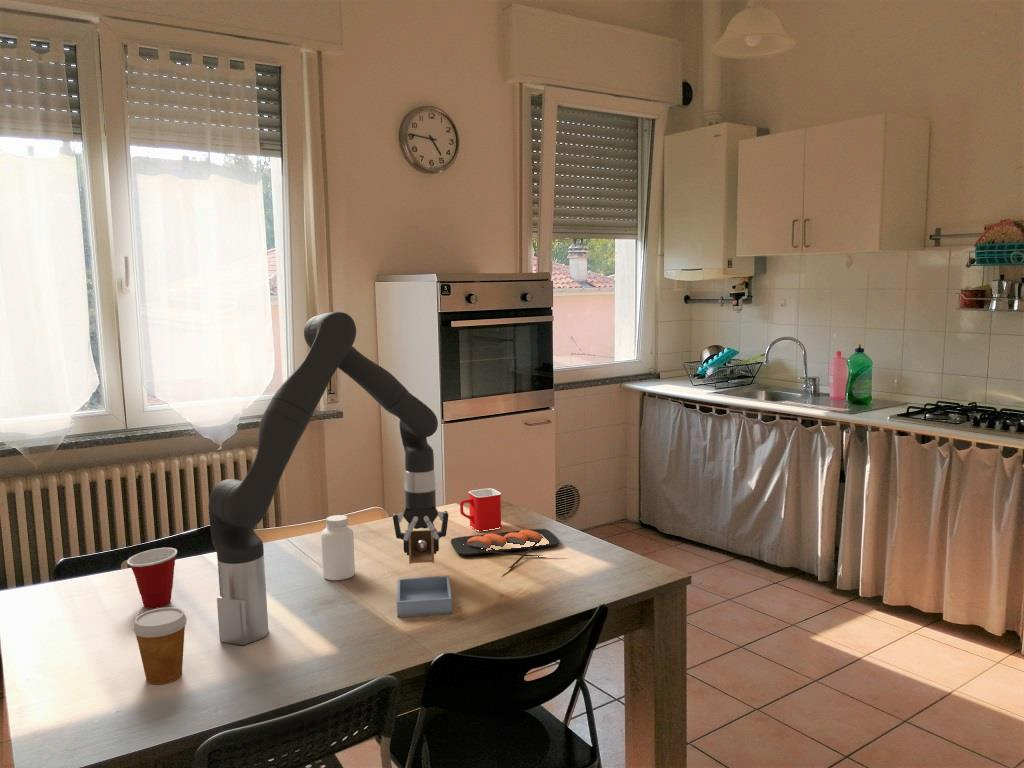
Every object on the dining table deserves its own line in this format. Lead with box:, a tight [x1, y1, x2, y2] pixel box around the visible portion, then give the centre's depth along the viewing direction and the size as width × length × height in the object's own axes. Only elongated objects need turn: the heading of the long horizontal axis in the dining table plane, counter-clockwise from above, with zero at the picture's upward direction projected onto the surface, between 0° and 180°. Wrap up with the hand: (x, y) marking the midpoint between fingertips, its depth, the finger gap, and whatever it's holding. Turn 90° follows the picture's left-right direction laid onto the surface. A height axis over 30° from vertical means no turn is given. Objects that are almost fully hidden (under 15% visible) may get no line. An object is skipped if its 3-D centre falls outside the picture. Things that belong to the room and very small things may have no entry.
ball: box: [416, 540, 428, 552], centre depth 206 cm, size 3×3×3 cm
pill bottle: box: [320, 514, 356, 581], centre depth 206 cm, size 8×8×15 cm
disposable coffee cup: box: [131, 606, 188, 685], centre depth 155 cm, size 10×10×12 cm
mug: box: [459, 487, 502, 531], centre depth 242 cm, size 12×8×11 cm
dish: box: [396, 575, 453, 618], centre depth 188 cm, size 14×12×4 cm
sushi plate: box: [450, 528, 560, 569], centre depth 220 cm, size 29×30×4 cm
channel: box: [408, 529, 435, 565], centre depth 204 cm, size 9×6×6 cm, turn 7°
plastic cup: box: [126, 547, 178, 610], centre depth 190 cm, size 11×11×12 cm
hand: (421, 553), depth 204 cm, fingers closed on channel, 6 cm apart
